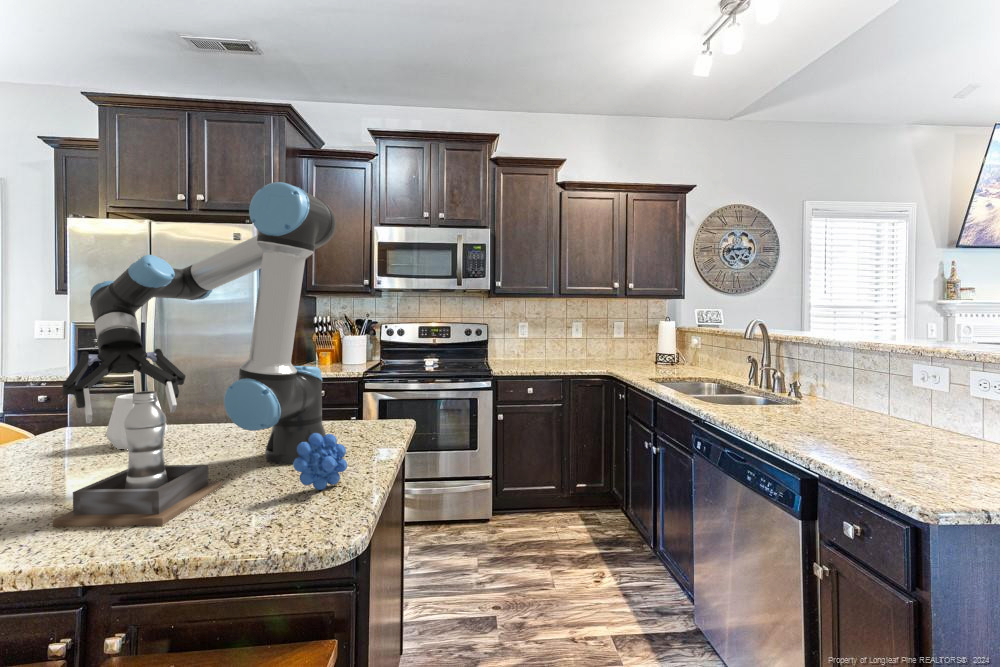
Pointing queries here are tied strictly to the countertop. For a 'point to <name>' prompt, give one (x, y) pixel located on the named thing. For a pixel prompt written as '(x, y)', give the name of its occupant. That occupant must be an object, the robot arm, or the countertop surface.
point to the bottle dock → (138, 499)
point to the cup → (121, 421)
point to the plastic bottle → (145, 442)
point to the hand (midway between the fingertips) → (133, 413)
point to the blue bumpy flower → (320, 461)
